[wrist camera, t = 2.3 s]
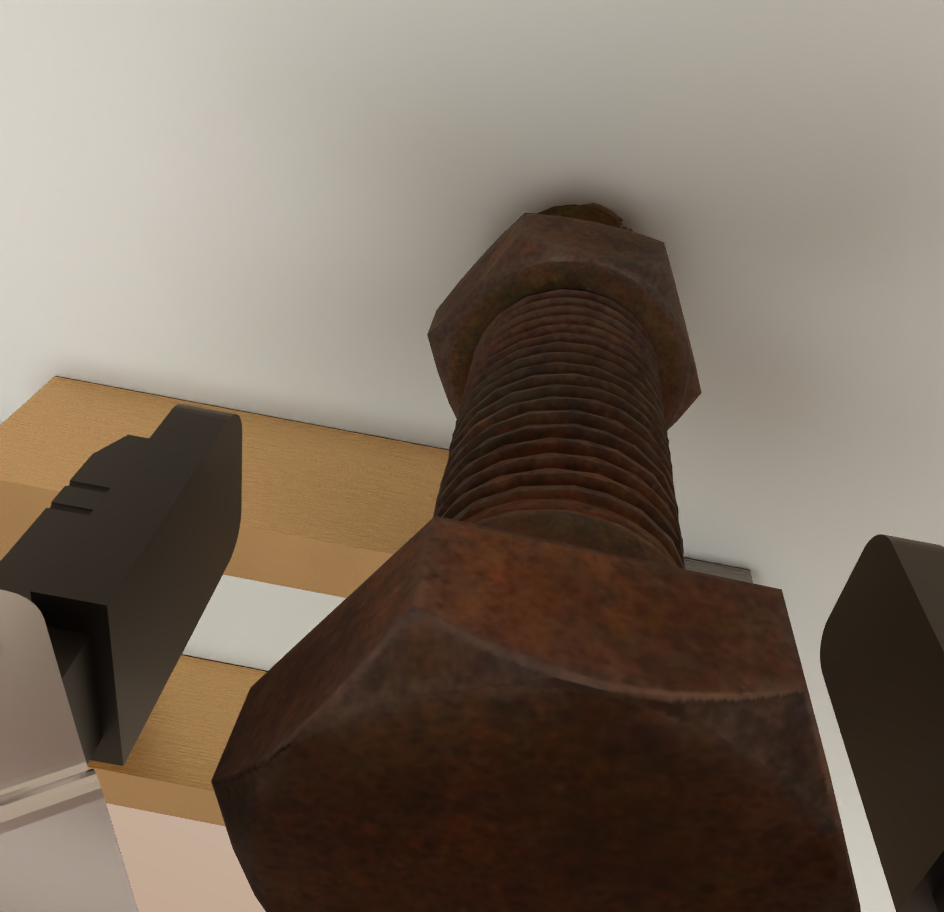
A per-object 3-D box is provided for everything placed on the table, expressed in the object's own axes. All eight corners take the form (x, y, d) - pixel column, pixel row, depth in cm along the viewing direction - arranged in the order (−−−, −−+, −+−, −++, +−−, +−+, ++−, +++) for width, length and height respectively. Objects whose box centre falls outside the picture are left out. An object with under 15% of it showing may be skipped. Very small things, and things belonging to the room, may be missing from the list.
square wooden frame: (469, 454, 23) (445, 564, 19) (420, 733, 29) (394, 859, 25) (54, 376, 23) (-50, 470, 19) (90, 669, 29) (16, 785, 25)
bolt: (710, 347, 21) (894, 1053, 8) (505, 400, 22) (391, 1077, 9) (649, 95, 18) (784, 574, 5) (420, 175, 19) (98, 704, 7)
